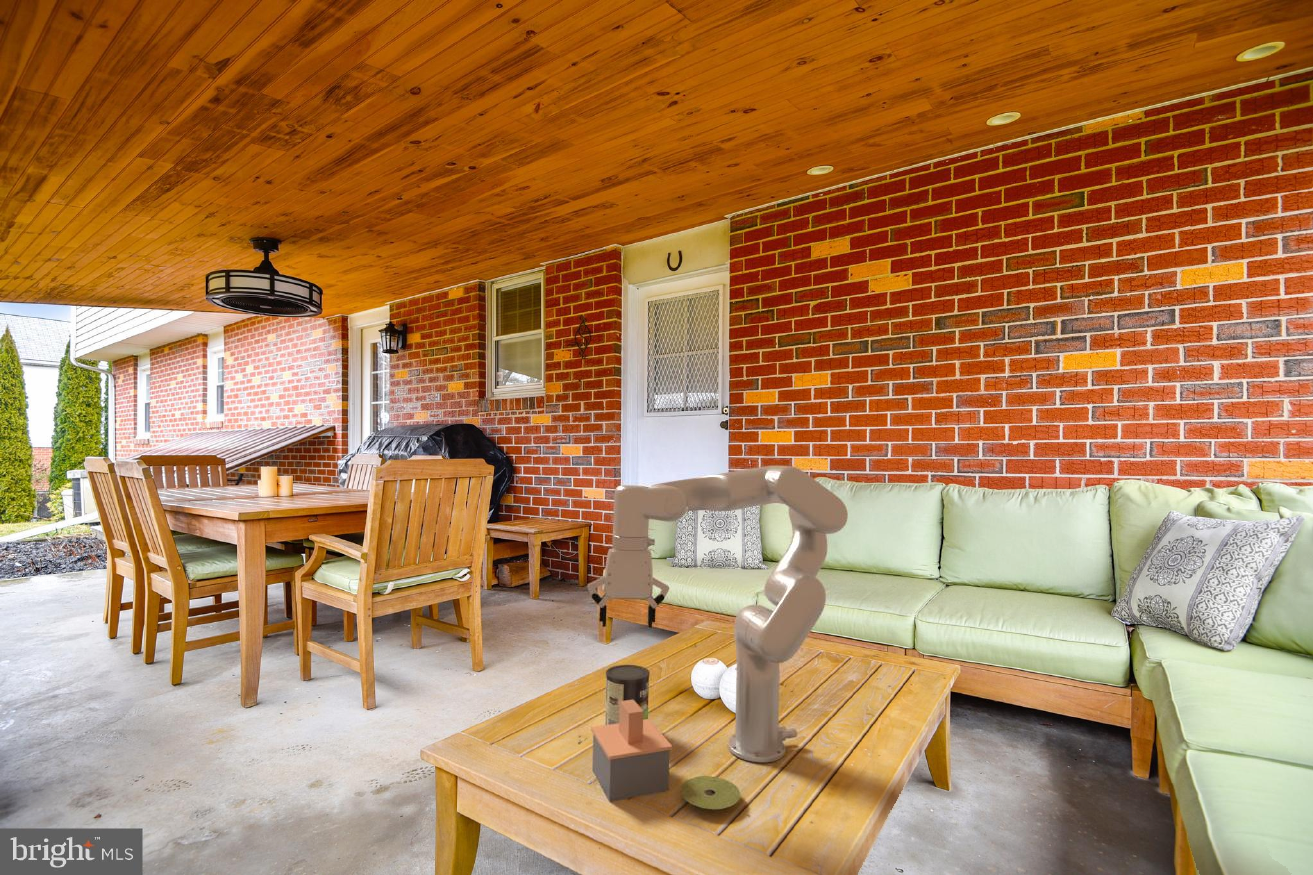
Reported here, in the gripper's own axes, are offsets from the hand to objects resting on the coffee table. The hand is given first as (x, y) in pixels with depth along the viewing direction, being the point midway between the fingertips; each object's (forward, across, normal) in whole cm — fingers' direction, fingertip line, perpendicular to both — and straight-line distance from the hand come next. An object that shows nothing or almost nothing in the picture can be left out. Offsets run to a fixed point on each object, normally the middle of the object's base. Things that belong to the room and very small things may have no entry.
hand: (627, 625), depth 127 cm
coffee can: (+29, -2, -15) cm, 33 cm away
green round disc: (+29, -16, +14) cm, 36 cm away
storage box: (+29, -1, +6) cm, 30 cm away
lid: (+21, -1, +6) cm, 22 cm away
